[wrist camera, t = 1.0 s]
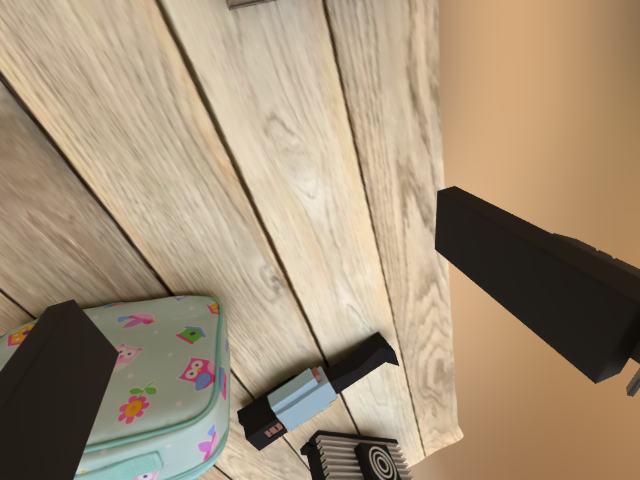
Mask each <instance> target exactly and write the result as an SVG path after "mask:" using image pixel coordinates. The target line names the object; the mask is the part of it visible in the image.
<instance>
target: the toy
mask: <svg viewBox="0 0 640 480" xmlns="http://www.w3.org/2000/svg"><path fill="white" fill-rule="evenodd" d="M385 362H387V363H391V364H394V365H398V366H399V363H398V360H397V357H396V354H395V351H394V350H393V349H392V347H391V346H390V345H389V344H388V343H387V341H386V340H385V339H384V338H383V337H382V336H381V334H380V333H379V332H378V333H376V334H375V335H373V336H371V337H370V338H369V339H368V340H367V341H366V342H365V343H364V344H363V345H362V346H361V347H360V348H359V349H358V350H357V351H356V352H355V353H354V354H353V355H352V356H351V357H350V358H347V359H345V360H343V361H341V362H339V363H337V364H335V365H332V366H330V367H328V368H326V369H324V370H323V369H322V367H321V366H319V367H318V368H316V367H314V368H313V369H311V370H310V368H308V369H307V370H305V371H304V372H303V373H301V374H300V375H298V376H297V377H296V375H294V376H292V377H291V378H289V379H288V380H286V381H284V382H283V383H281V384H280V385H278V386H277V387H275V388H273V389H272V390H270V391H269V392H267V393H266V394H264V395H263V396H261V397H259V398H258V399H256V400H255V401H253V402H252V403H250V404H248V405H247V406H245V407H244V408H242V409H241V410H239V411H237V414H238V419H239V423H240V424H241V425H242V426H243V427H244V432H245V437H246V440H248V441H249V442H250V443H251V444H252V445H253V446H254V447H255V448H256V449H258V450H259V451H260V450H262V449H263V448H264V447H266V446H267V445H269V444H270V443H272V442H273V441H275V440H276V439H278V438H279V437H281V436H282V435H284V434H285V433H287V432H288V431H287V429H288V430H290V431H292V430H294V429H295V428H297V427H298V426H300V425H301V424H303V423H304V422H306V421H307V420H309V419H310V418H312V417H313V416H315V415H316V414H318V413H320V412H321V411H323V410H325V409H326V408H328V407H330V406H331V404H330V403H331V402H333V401H334V400H335V399H336V398H338V396H337V394H338V393H340V392H341V391H343V390H344V389H346V388H347V387H349V386H350V385H352V384H353V383H355V382H356V381H358V380H359V379H361V378H362V377H364V376H365V375H367V374H368V373H370V372H371V371H373V370H374V369H376V368H377V367H379V366H380V365H382V364H383V363H385ZM285 427H286V428H287V429H286V428H285Z"/></svg>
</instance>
